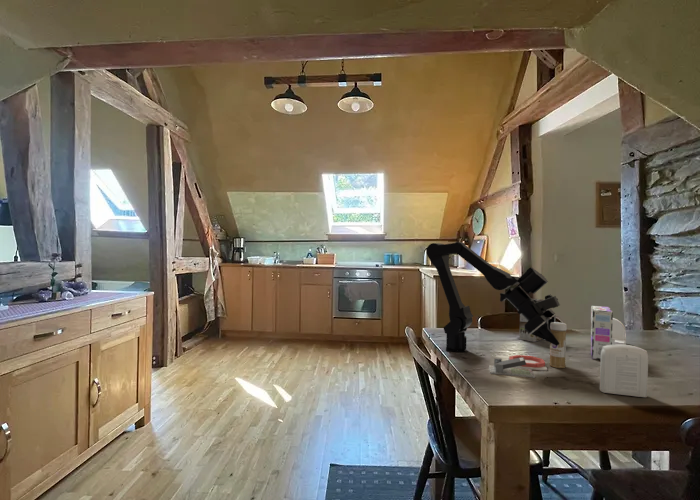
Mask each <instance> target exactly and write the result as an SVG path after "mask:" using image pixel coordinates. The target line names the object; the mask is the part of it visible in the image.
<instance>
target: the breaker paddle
mask: <svg viewBox="0 0 700 500" xmlns="http://www.w3.org/2000/svg"><path fill="white" fill-rule="evenodd" d="M499 363H500V364H503V369H506V368H512V367H517V366H522V365H526V362H525V359H524V357H521V358H516V359H511V360H508V359H506V360H502V361H501V362H499Z"/></svg>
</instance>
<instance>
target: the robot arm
mask: <svg viewBox="0 0 700 500" xmlns="http://www.w3.org/2000/svg"><path fill="white" fill-rule="evenodd" d="M425 253H426V256H427V257H428V260H429V261H430V263H431V264H432V265H433V267H434V268H435V269H436V272H437V274H438V277H439V280H440V283H441V286H442V289H443V291H444V295H445V297H446V301H447V303H448V317H449V322H447V324H446V325H444V326H443V331H444V334H446V338H445V339H446V344H445V345H446V347H445V351H447V352H458V353H459V352H460V353H466V350H467V338H468V337H467V336H465V335H466V332H467V330H468V328H469V327H470V326H471V325H472V323H473V317H474V315H473V313H472V311H471V307H470V305H466V306H465V304H464V303H463V302H462V299H461V296H460V294H459V291H458V287H457V284H456V282H455V280H454V279H455V278H454V276H453V273H452V270H451V269H450V256H449V255H454V254H455V255H458V256H459V257H460V258H462V259H463V260H464V261H466V262H467V263H468V264H470V265H471V266H472V267H473V268H474V269H476V271H478V272H479V273H481V274H482V275H483V277H484V278H485V280H486V281H487V282H488V284H490V286H491V287H492V288H493V289H495V290H497V291H502V290H506V291H505V292H501V293H499V295H500V298H499V301H500V302H501V303H502V302H505V301H506V300H507V301H509V303H510V304H511V305H512V306H513V307H514V308H515V309H516V310H517V314H518V315H520V314H522V315H523V316H524V317H525V318H526V319H527V323H526V324H525V330H526V331H527V332H528V333H531V332H532V331H533V330H534V332H533V333H532V335H535V336H537V337H539V338H542V340H544V341H546V342H548V343H549V344H550V343H552V344H554V345H556V346H557V345H559V344H560V343H559V342H558V340H557V339H556V337H555V336H554V335H553V333H552V332H551V330H550V323H551V322H556V317H557V316H556V313H555V311H553V310H552V309H554V308H558V307H559V306H561V304H560V302H559V299H558V298H557V296H556V295H554V296H553V295H551V294H547V295H545V296H544V299H543V300H542V301H540V302H538V301H537V300H536V299H537V298H532V299H533V300H532V299H531V297H530V295H529V294H535V293H537V292H538V291H539V290H541V288H543V287H544V286H545V285H546V284H547V283H549V281H548V279H547V278H546V277H545V276H544V275H543V274H542V273H540V272H539V271H538V270H536V269H534V268H533V267H532V266H530V267H529V268H527V270H526V271H525V272H523V274H522V275H521V276H519V277H518V276H513V275H511V274H510V273H509V272H507V271H505V270H502V269H501V268H499V267H496V266H494V265H492V264H491V263H489V262H488V261H487V260H485V258H483V257H482V256H480V254H478V253H476V252H475V251H474V250H472V249H471V248H470V247H468V245H466V243H464V242H462V241H461V242H459V241H456V242H453V243H447V244H444V243H440V242H438V243H436V242H431V243H430V244H429V245H428V246H427V247H426V250H425ZM515 285H517V286H515ZM511 286H515V287H514V288H513V287H511ZM534 299H535V300H534Z"/></svg>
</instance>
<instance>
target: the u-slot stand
mask: <svg viewBox="0 0 700 500" xmlns="http://www.w3.org/2000/svg"><path fill="white" fill-rule="evenodd" d="M626 333H627V332H626V327H625V325H624V324H623V323H622V321H620V320H619V319H617V318H615V317H613V321H612V345H614V344H624V345H627V335H626Z"/></svg>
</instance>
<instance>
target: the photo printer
mask: <svg viewBox="0 0 700 500" xmlns="http://www.w3.org/2000/svg"><path fill="white" fill-rule="evenodd" d="M599 366H600V370H599V391H600V392H602V393H604V394H611V395H612V394H614V395H620V396H621V395H622V396H632V397H638V398H647V397H648V378H649V354H648V351H647V350H646V349H643V348H641V347H639V346H634V345H631V344H630V345H629V344H626V345H624V344H614V345H607V346H603V347H602V350H601V360H600V365H599Z"/></svg>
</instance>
